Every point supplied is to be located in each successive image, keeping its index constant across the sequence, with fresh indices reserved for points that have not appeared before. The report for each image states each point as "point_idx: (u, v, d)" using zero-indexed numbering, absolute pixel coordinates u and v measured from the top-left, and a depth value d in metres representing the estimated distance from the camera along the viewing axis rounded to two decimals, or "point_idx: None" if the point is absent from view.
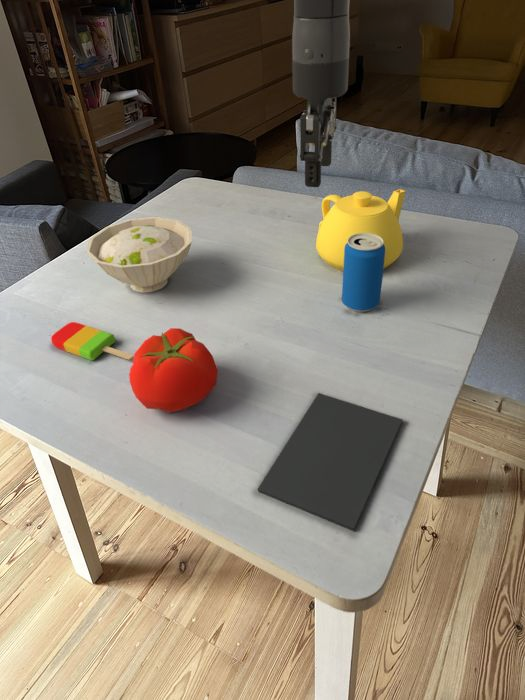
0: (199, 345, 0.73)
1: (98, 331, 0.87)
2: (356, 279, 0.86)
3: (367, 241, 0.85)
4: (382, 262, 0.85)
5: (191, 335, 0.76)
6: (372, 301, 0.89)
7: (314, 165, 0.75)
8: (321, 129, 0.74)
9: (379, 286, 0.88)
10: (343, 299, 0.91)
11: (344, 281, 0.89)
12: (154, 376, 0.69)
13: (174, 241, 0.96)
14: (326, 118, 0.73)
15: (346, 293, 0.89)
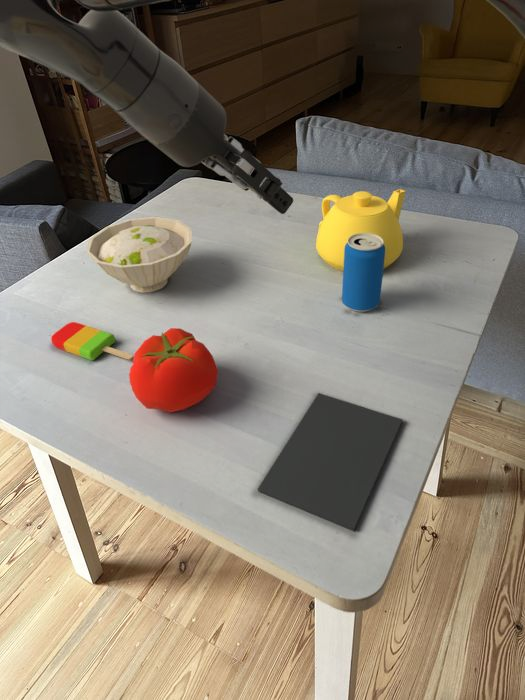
0: (199, 345, 0.73)
1: (98, 331, 0.87)
2: (356, 279, 0.86)
3: (367, 241, 0.85)
4: (382, 262, 0.85)
5: (191, 335, 0.76)
6: (372, 301, 0.89)
7: (277, 191, 0.59)
8: None
9: (379, 286, 0.88)
10: (343, 299, 0.91)
11: (344, 281, 0.89)
12: (154, 376, 0.69)
13: (174, 241, 0.96)
14: (236, 147, 0.57)
15: (346, 293, 0.89)
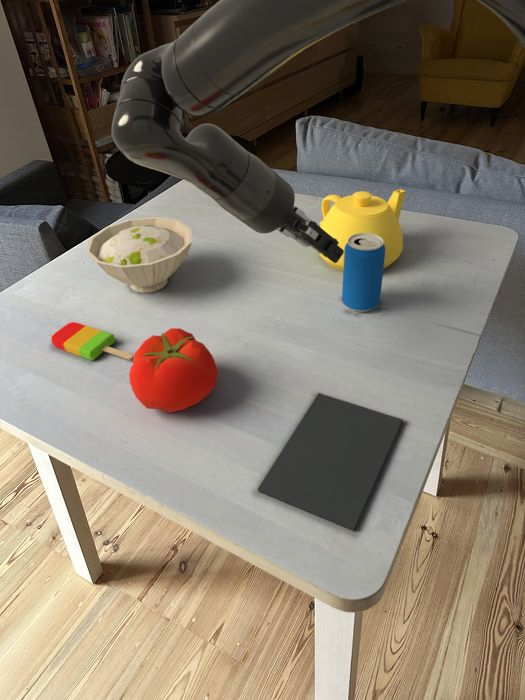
0: (199, 345, 0.73)
1: (98, 331, 0.87)
2: (356, 279, 0.86)
3: (367, 241, 0.85)
4: (382, 262, 0.85)
5: (191, 335, 0.76)
6: (372, 301, 0.89)
7: None
8: (306, 224, 0.72)
9: (379, 286, 0.88)
10: (343, 299, 0.91)
11: (344, 281, 0.89)
12: (154, 376, 0.69)
13: (174, 241, 0.96)
14: (300, 215, 0.72)
15: (346, 293, 0.89)
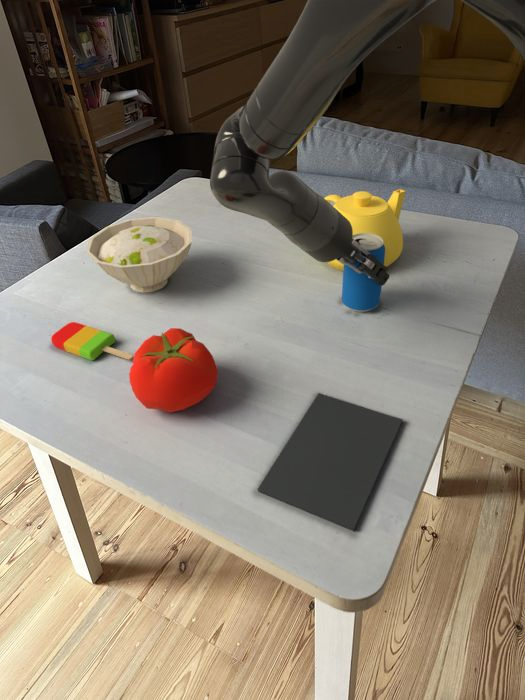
0: (199, 345, 0.73)
1: (98, 331, 0.87)
2: (356, 279, 0.86)
3: (367, 241, 0.85)
4: (382, 262, 0.85)
5: (191, 335, 0.76)
6: (372, 301, 0.89)
7: None
8: None
9: (379, 286, 0.88)
10: (343, 299, 0.91)
11: (344, 281, 0.89)
12: (154, 376, 0.69)
13: (174, 241, 0.96)
14: (355, 245, 0.81)
15: (346, 293, 0.89)
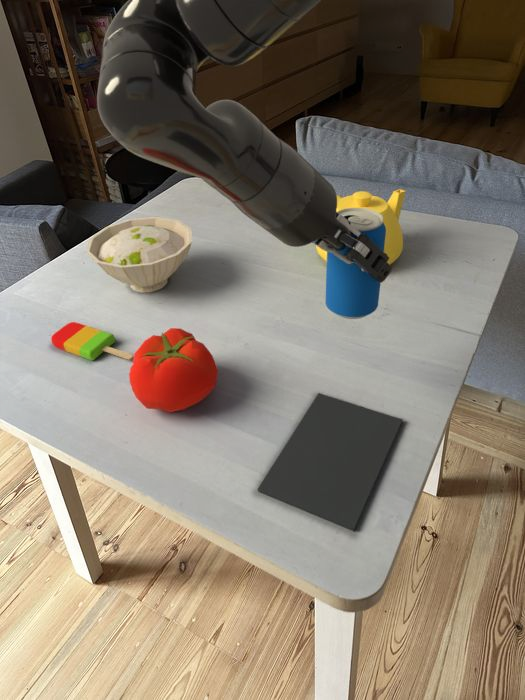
0: (199, 345, 0.73)
1: (98, 331, 0.87)
2: (344, 273, 0.61)
3: (360, 219, 0.60)
4: (381, 249, 0.60)
5: (191, 335, 0.76)
6: (367, 304, 0.63)
7: None
8: (350, 235, 0.56)
9: (377, 283, 0.62)
10: (327, 301, 0.65)
11: (328, 276, 0.63)
12: (154, 376, 0.69)
13: (174, 241, 0.96)
14: (342, 223, 0.56)
15: (331, 293, 0.64)
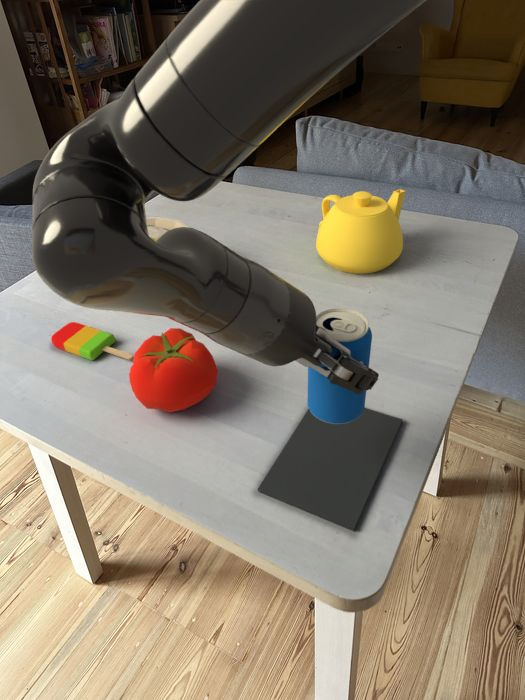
0: (199, 345, 0.73)
1: (98, 331, 0.87)
2: (326, 381, 0.55)
3: (343, 323, 0.54)
4: (367, 356, 0.54)
5: (191, 335, 0.76)
6: (352, 410, 0.58)
7: None
8: (332, 349, 0.51)
9: None
10: (309, 404, 0.60)
11: (309, 380, 0.58)
12: (154, 376, 0.69)
13: None
14: (323, 337, 0.50)
15: (313, 397, 0.58)
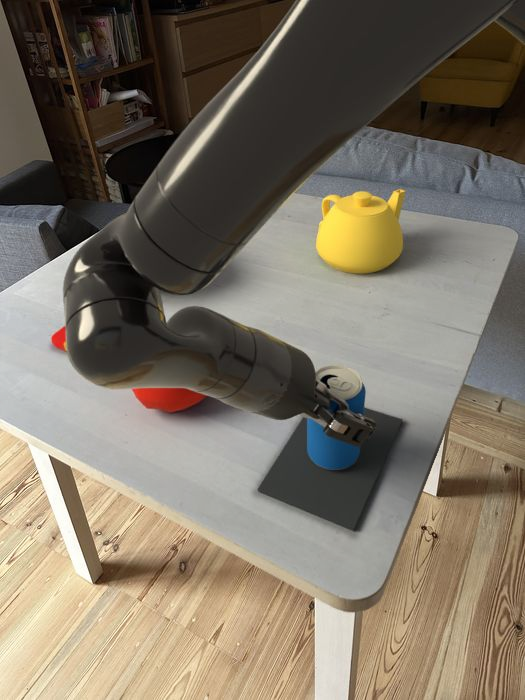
0: None
1: None
2: (324, 434, 0.60)
3: (339, 381, 0.59)
4: (361, 411, 0.59)
5: None
6: (348, 458, 0.63)
7: None
8: (330, 402, 0.55)
9: None
10: (308, 450, 0.65)
11: (308, 430, 0.63)
12: None
13: None
14: (322, 391, 0.55)
15: (312, 446, 0.63)
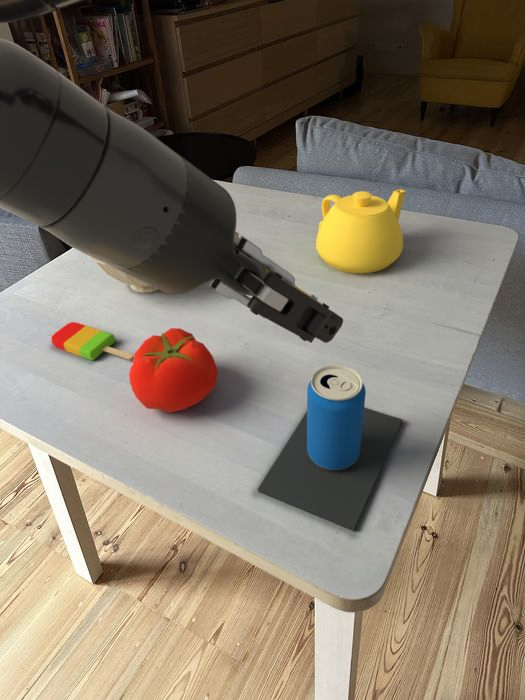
0: (199, 345, 0.73)
1: (98, 331, 0.87)
2: (324, 434, 0.60)
3: (339, 381, 0.59)
4: (361, 411, 0.59)
5: (191, 335, 0.76)
6: (348, 458, 0.63)
7: None
8: (266, 273, 0.35)
9: (358, 439, 0.62)
10: (308, 450, 0.65)
11: (308, 430, 0.63)
12: (154, 376, 0.69)
13: None
14: (252, 254, 0.35)
15: (312, 446, 0.63)
